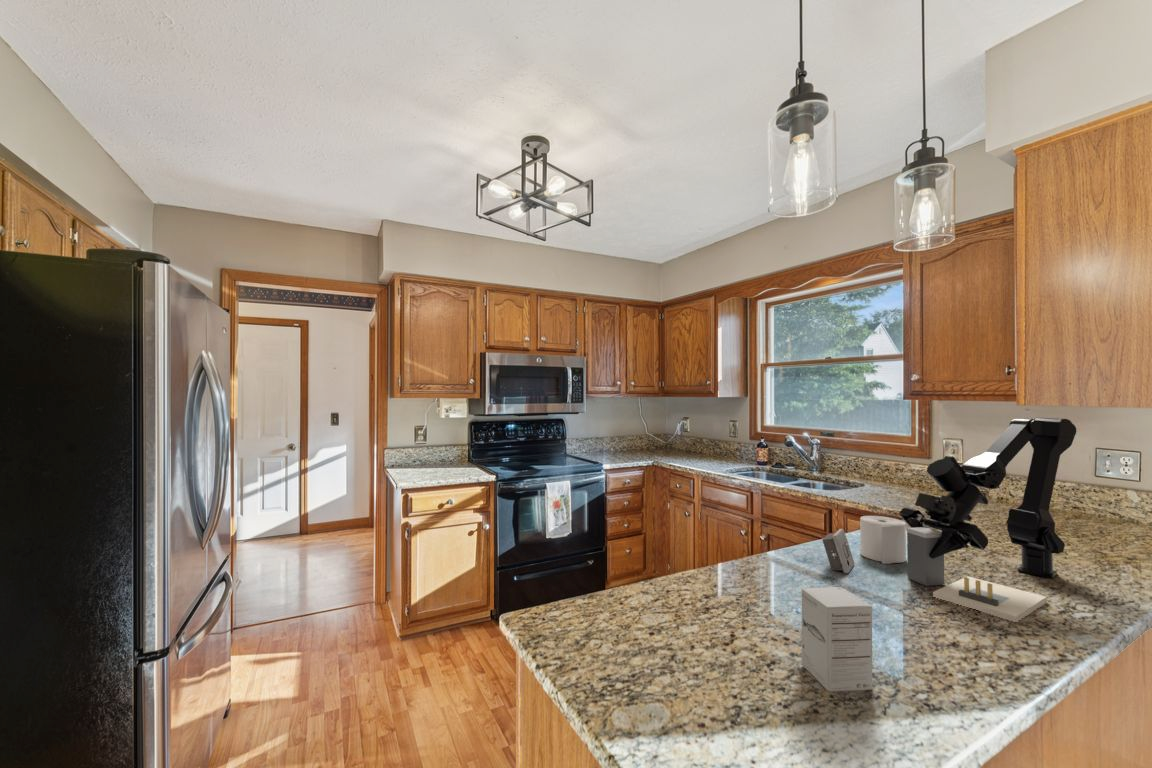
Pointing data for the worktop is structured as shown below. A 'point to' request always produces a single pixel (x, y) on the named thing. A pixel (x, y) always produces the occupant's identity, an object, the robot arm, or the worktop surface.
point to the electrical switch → (838, 551)
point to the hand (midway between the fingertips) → (920, 553)
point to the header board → (991, 598)
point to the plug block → (924, 556)
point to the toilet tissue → (883, 539)
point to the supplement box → (837, 638)
